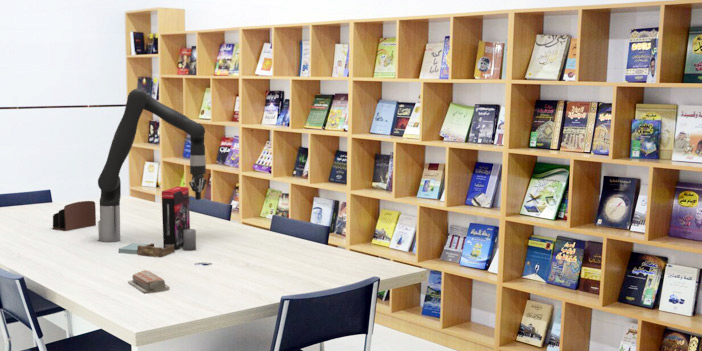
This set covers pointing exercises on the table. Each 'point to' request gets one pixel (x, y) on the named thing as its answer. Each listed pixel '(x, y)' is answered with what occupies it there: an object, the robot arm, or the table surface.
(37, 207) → the table surface
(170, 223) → the graphics card box
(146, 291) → the packaged product
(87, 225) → the letter holder
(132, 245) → the light blue rectangular block
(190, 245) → the grey rounded capsule
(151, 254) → the brown wooden angled bracket
